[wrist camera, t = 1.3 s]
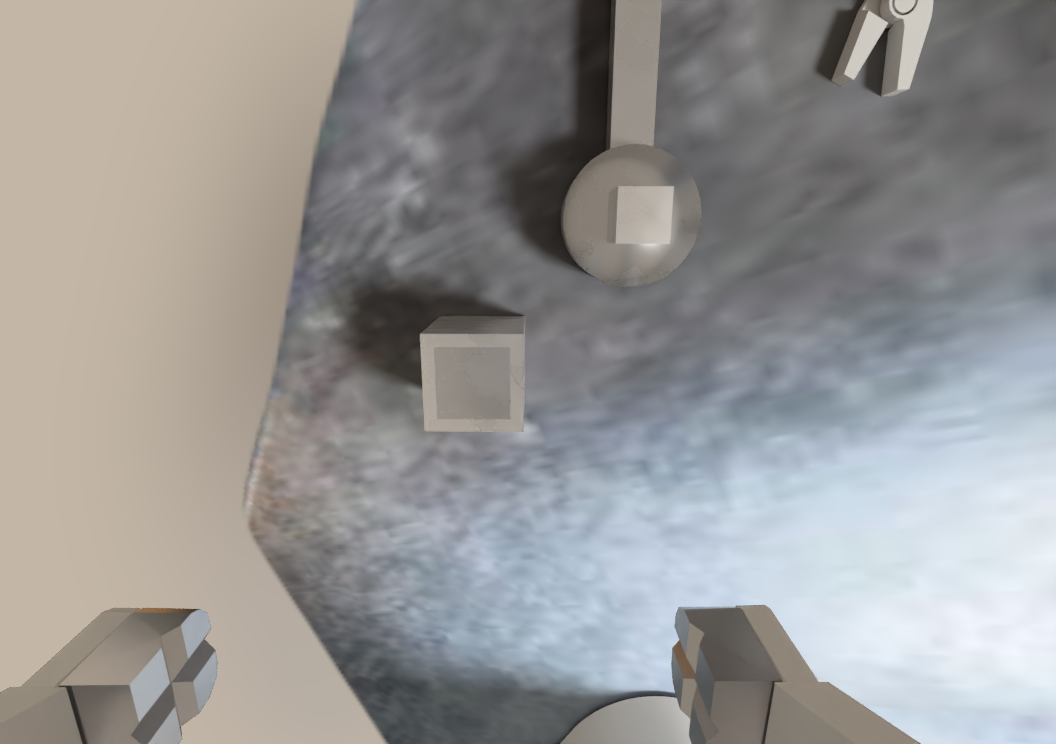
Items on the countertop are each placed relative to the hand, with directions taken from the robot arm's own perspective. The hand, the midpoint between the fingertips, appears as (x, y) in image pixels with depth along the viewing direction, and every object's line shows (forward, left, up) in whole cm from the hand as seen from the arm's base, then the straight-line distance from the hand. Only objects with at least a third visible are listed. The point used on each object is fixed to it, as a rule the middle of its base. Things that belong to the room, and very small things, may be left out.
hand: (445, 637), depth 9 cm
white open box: (0, +1, -23) cm, 23 cm away
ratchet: (+15, -7, -23) cm, 28 cm away
